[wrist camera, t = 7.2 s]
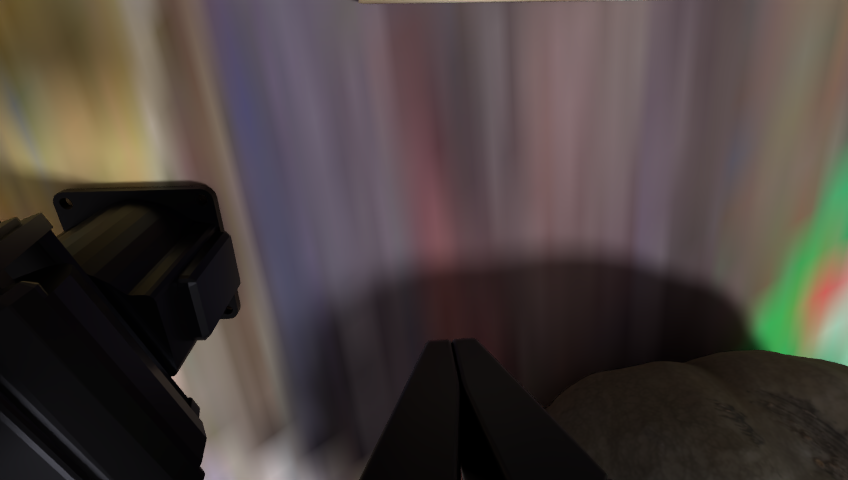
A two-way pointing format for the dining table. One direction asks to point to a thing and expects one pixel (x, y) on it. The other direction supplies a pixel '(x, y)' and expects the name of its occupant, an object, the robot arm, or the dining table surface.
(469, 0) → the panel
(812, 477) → the gourd
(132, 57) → the dining table surface
